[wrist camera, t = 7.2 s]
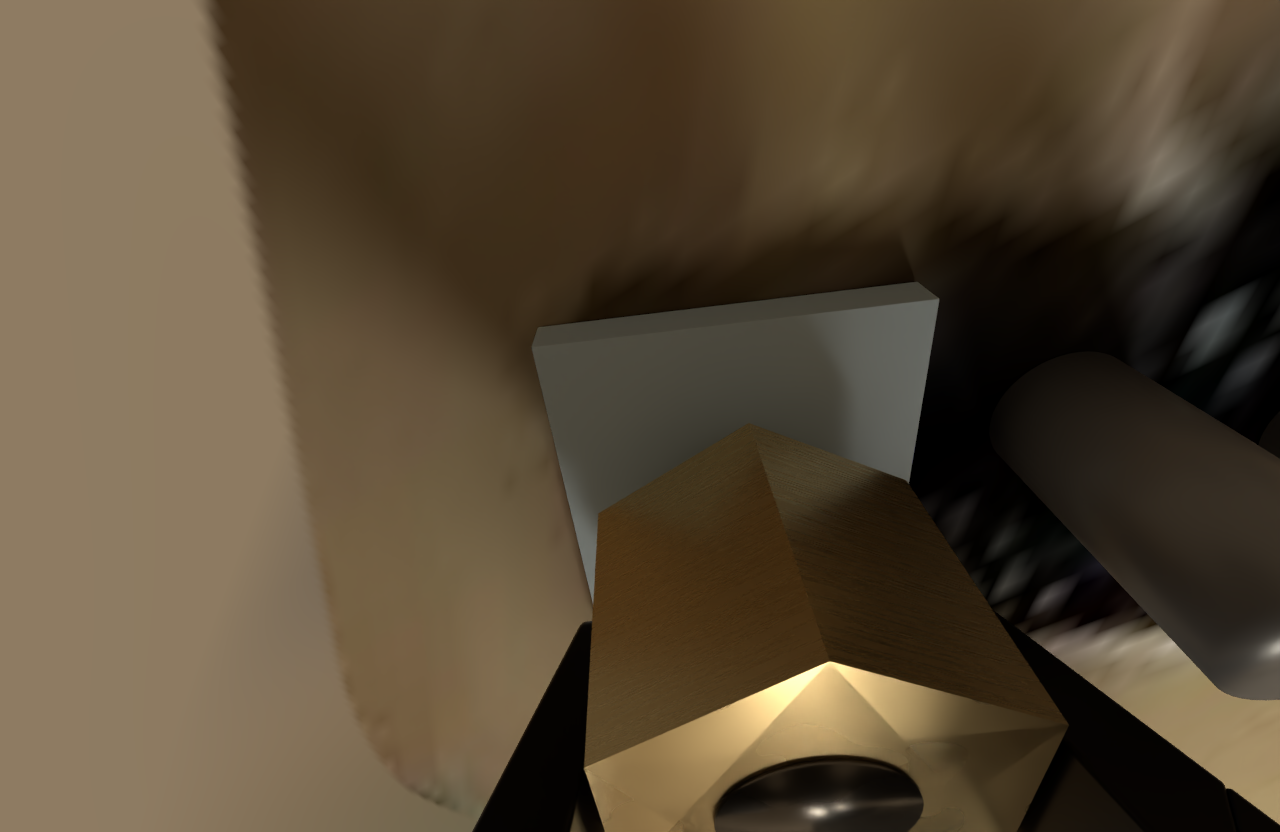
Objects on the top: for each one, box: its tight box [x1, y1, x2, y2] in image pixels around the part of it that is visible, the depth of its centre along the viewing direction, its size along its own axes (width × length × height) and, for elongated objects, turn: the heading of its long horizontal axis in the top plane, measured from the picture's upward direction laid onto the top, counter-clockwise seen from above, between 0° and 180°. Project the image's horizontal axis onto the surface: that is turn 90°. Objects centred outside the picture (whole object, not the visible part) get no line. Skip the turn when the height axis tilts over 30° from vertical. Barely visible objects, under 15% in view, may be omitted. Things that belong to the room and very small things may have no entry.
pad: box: [531, 282, 939, 602], centre depth 11 cm, size 8×6×1 cm
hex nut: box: [584, 423, 1069, 832], centre depth 8 cm, size 6×5×4 cm
